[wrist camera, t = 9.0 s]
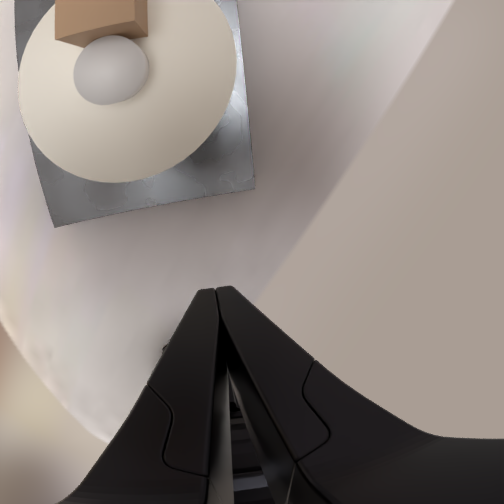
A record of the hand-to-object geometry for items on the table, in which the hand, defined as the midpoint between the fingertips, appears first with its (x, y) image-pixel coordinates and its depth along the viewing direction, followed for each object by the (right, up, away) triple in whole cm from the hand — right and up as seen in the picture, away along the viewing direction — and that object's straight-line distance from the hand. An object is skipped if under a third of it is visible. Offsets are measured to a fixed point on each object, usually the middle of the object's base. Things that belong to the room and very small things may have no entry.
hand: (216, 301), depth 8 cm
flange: (-5, +11, +5) cm, 13 cm away
